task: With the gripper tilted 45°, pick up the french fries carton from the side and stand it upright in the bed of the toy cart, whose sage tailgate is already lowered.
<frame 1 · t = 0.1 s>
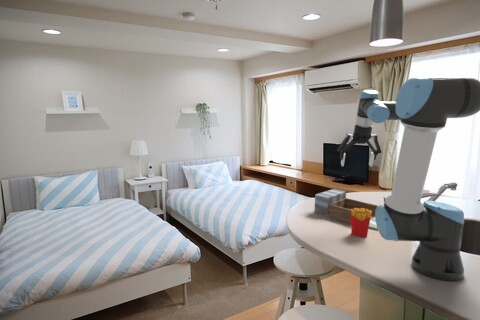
hand: (356, 165, 149), 28 cm above the worktop, tool tilted 20°, fingers open, 13 cm apart
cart: (351, 216, 157), on the worktop
french fries: (359, 235, 134), on the worktop
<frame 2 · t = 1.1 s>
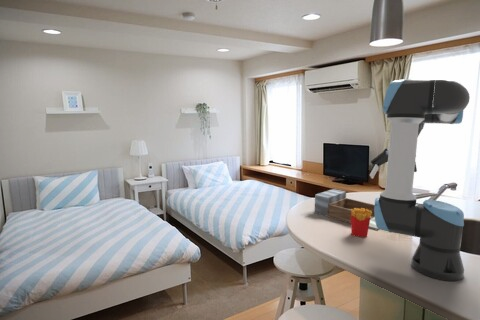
hand: (385, 179, 136), 24 cm above the worktop, tool tilted 45°, fingers open, 13 cm apart
nothing on the worktop moved.
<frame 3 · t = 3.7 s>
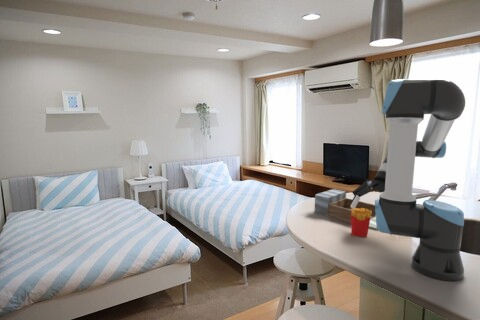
hand: (365, 212, 136), 9 cm above the worktop, tool tilted 45°, fingers open, 13 cm apart
nothing on the worktop moved.
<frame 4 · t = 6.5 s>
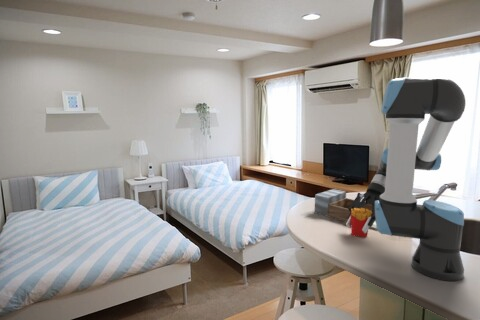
hand: (355, 228, 131), 4 cm above the worktop, tool tilted 45°, fingers closed on french fries, 7 cm apart
french fries: (359, 235, 134), on the worktop, touching gripper
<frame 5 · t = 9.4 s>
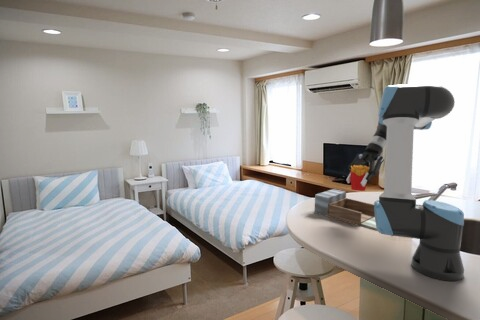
hand: (354, 183, 146), 20 cm above the worktop, tool tilted 45°, fingers closed on french fries, 7 cm apart
french fries: (358, 189, 149), point 16 cm above the worktop, touching gripper
when the fingers open (7 cm above the worktop, at t = 12.8 s): french fries drops 1 cm, resting on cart.
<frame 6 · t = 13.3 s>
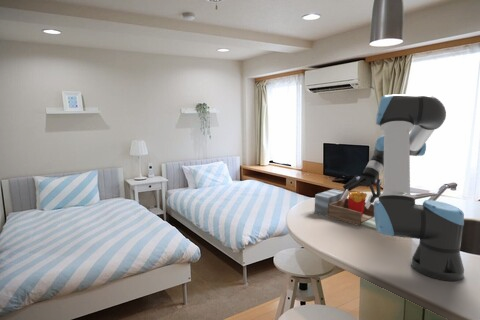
hand: (353, 204, 153), 8 cm above the worktop, tool tilted 45°, fingers open, 13 cm apart
french fries: (356, 215, 155), point 1 cm above the worktop, touching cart
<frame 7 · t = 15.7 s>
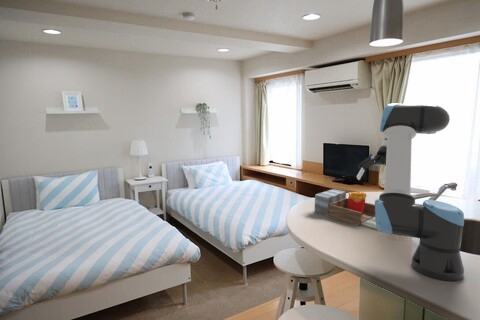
hand: (369, 181, 159), 18 cm above the worktop, tool tilted 45°, fingers open, 13 cm apart
nothing on the worktop moved.
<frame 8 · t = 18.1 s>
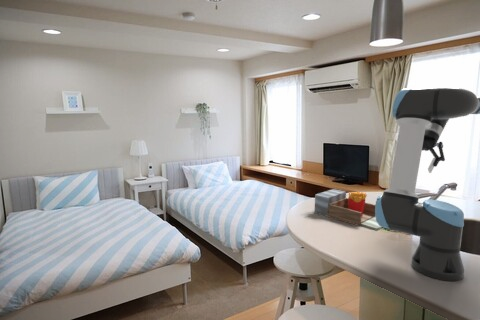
hand: (413, 168, 140), 28 cm above the worktop, tool tilted 45°, fingers open, 13 cm apart
nothing on the worktop moved.
at the end: french fries inside the target area on the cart (2.0 cm from its centre), point 1.3 cm above the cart's base; french fries tilted 0°; the gripper is holding nothing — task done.
